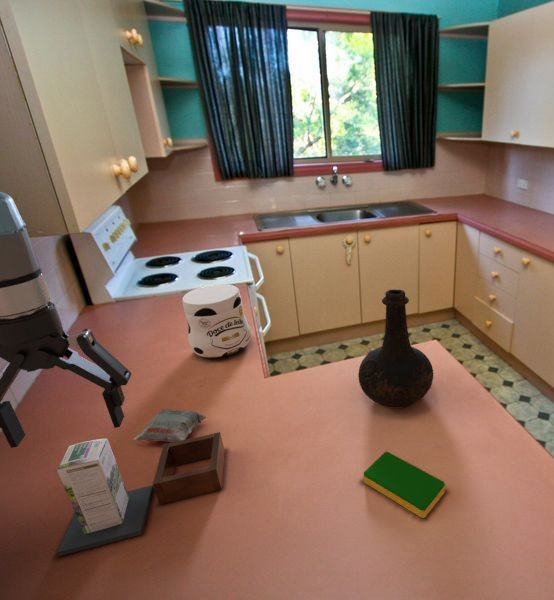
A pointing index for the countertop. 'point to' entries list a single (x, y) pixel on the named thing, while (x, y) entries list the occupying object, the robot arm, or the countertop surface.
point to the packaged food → (170, 426)
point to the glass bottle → (395, 361)
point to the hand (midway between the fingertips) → (70, 431)
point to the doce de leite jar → (216, 321)
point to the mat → (127, 529)
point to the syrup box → (94, 485)
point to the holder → (192, 481)
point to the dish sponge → (404, 484)
